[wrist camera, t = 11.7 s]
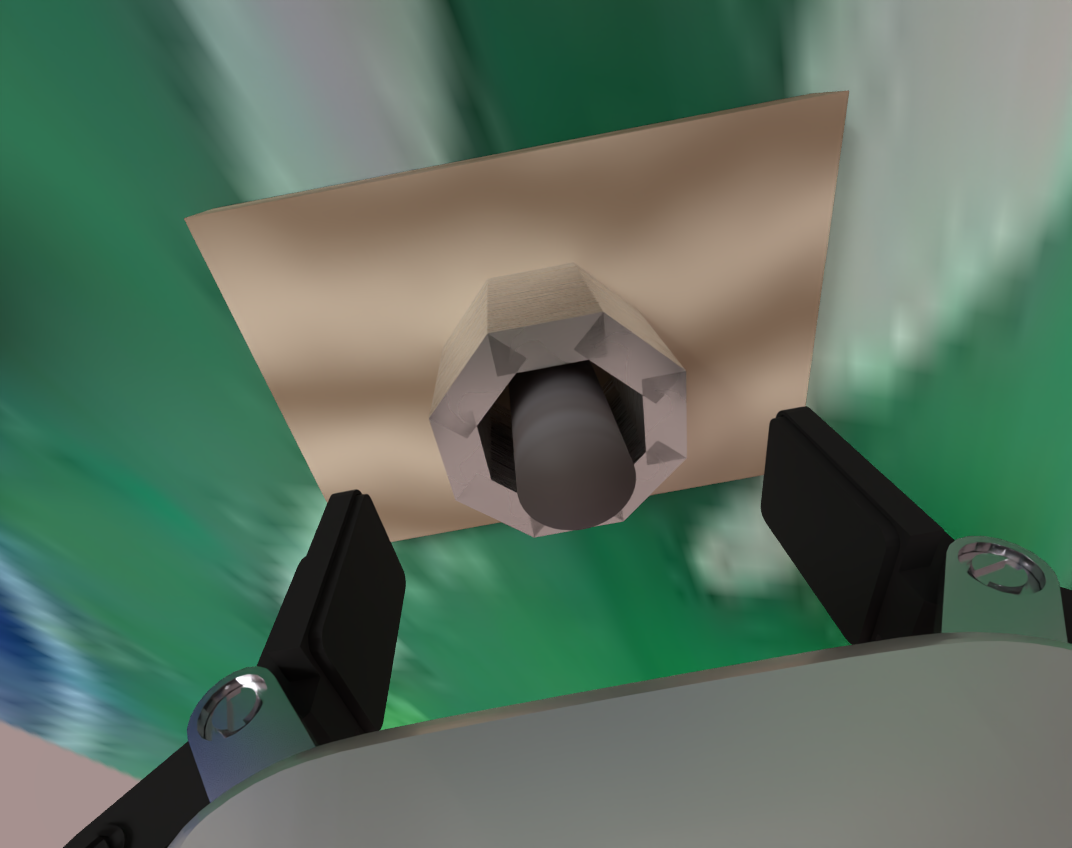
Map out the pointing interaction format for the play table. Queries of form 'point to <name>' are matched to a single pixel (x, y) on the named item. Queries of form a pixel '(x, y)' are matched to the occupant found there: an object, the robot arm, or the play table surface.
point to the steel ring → (544, 341)
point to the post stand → (528, 244)
